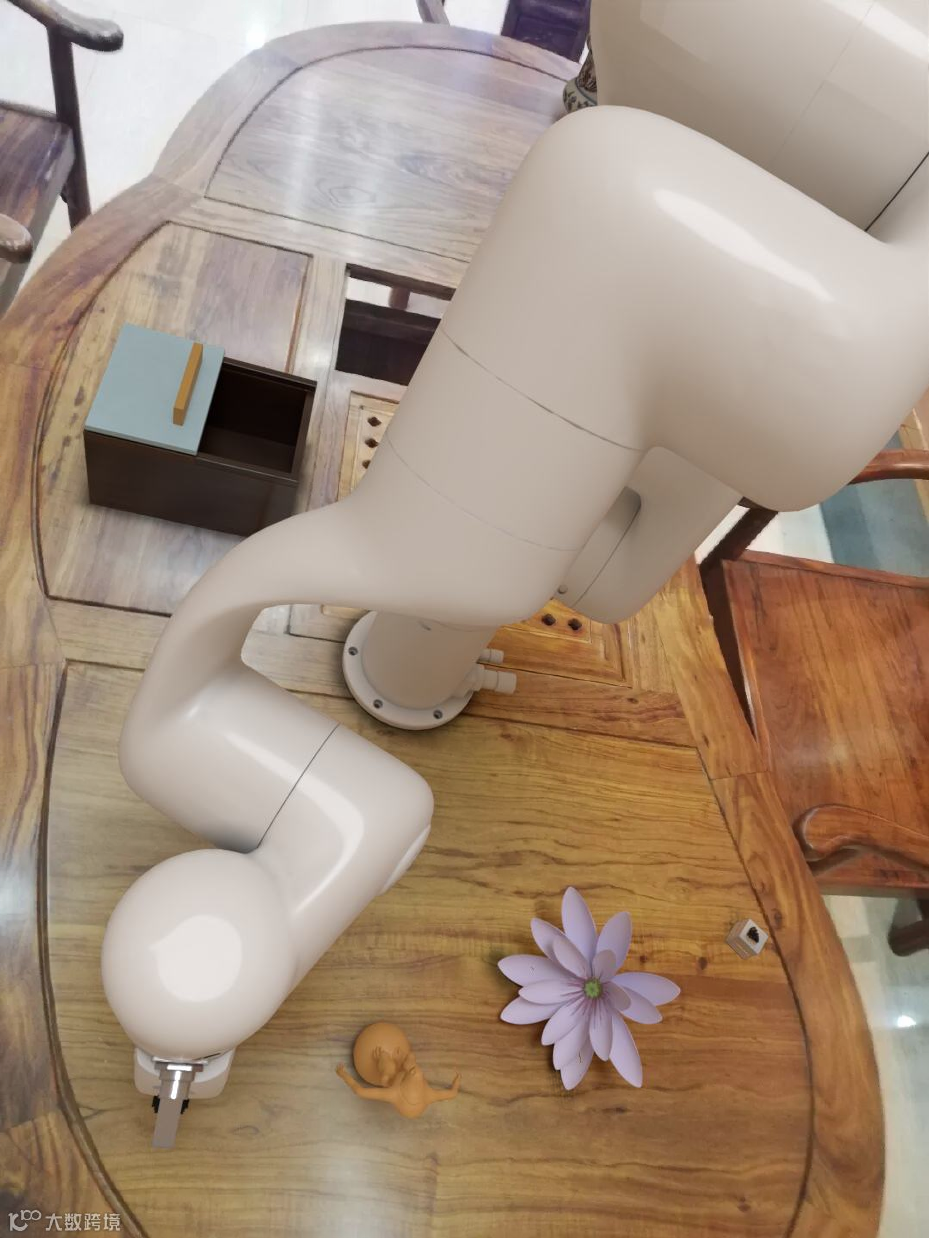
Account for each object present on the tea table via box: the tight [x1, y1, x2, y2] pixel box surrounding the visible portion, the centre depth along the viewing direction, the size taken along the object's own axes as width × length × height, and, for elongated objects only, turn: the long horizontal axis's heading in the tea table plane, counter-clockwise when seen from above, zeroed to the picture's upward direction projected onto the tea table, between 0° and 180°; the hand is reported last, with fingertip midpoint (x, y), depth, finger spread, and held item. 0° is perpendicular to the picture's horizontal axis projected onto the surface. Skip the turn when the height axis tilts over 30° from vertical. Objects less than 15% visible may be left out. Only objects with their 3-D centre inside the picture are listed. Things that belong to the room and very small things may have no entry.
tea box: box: [82, 356, 318, 538], centre depth 77 cm, size 13×18×10 cm
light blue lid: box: [84, 321, 226, 455], centre depth 71 cm, size 13×9×3 cm
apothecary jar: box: [562, 29, 597, 114], centre depth 130 cm, size 12×12×18 cm
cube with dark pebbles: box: [724, 918, 769, 960], centre depth 73 cm, size 2×2×2 cm
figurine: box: [334, 1021, 463, 1120], centre depth 55 cm, size 8×6×12 cm
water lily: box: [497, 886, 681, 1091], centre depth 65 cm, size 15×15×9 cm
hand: (188, 1009), depth 56 cm, fingers closed on kiwi fruit, 5 cm apart
